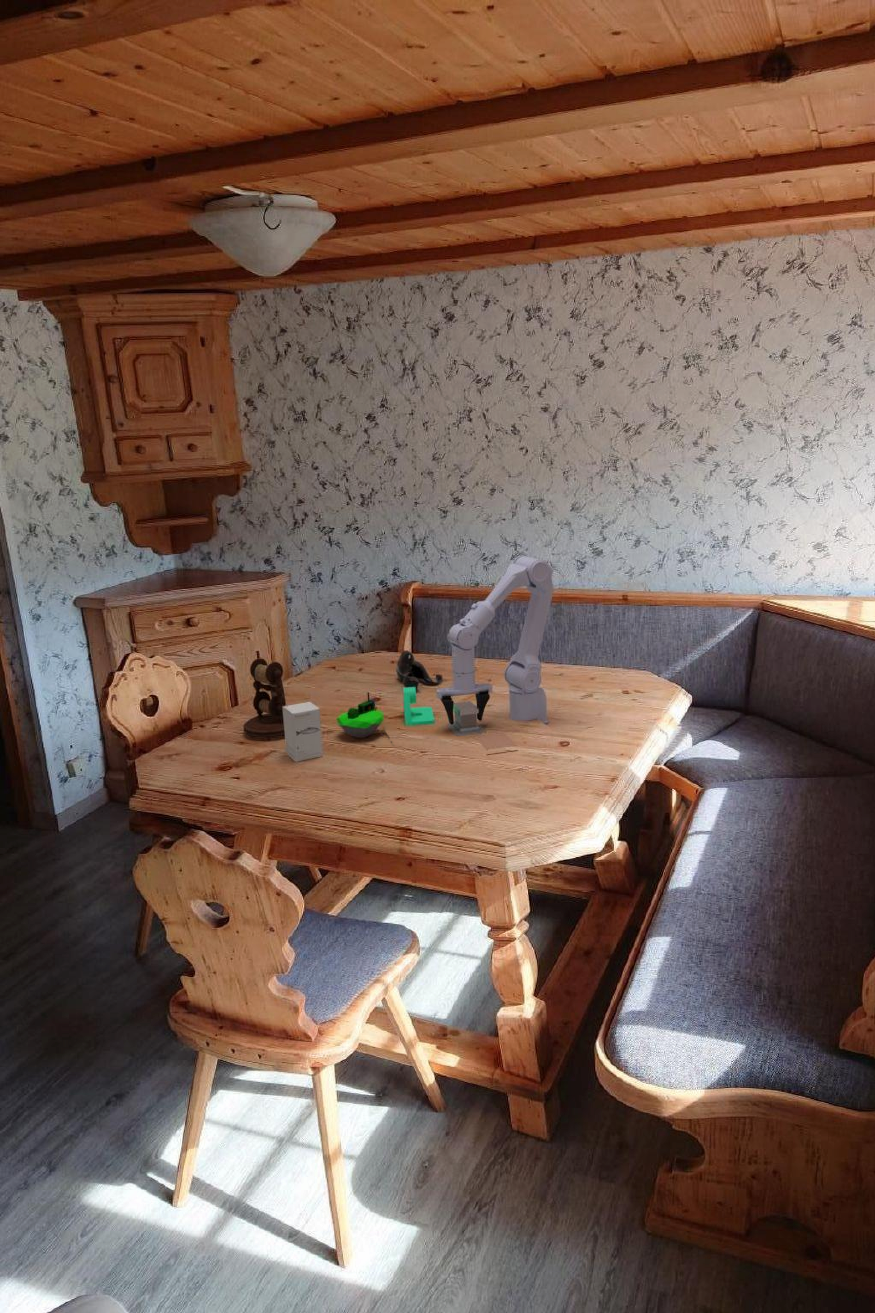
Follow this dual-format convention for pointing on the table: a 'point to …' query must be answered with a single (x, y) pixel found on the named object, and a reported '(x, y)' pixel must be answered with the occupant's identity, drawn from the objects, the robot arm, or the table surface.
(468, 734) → the stand
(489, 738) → the stand
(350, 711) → the green floating island model
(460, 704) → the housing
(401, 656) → the cat figurine
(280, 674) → the brown upright round-based piece
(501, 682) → the table surface
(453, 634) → the robot arm
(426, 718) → the camera mount
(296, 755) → the supplement box
